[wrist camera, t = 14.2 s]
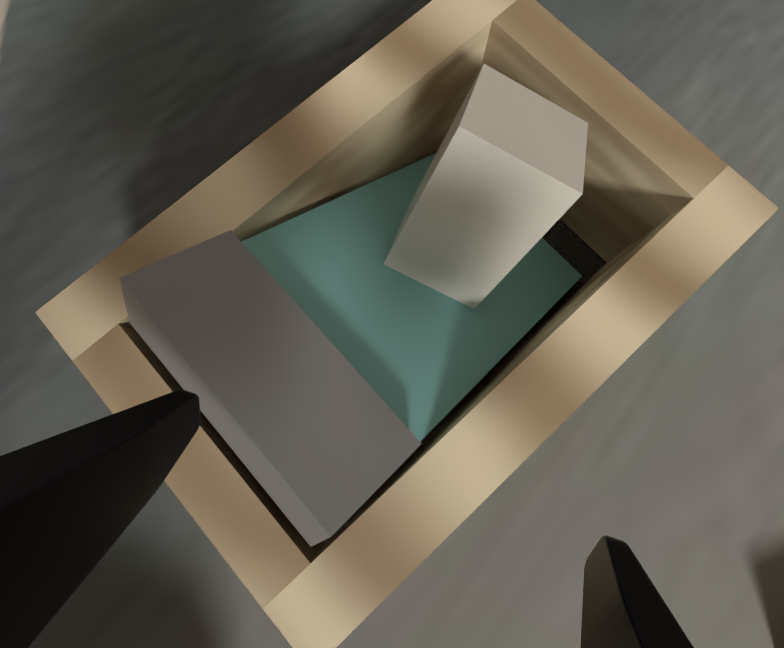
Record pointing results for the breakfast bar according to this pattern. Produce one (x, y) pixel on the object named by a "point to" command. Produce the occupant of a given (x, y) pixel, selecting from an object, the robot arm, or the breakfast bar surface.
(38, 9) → the breakfast bar surface
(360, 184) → the trapdoor box
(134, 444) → the robot arm
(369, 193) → the trapdoor
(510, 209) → the stone pillar
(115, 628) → the breakfast bar surface
